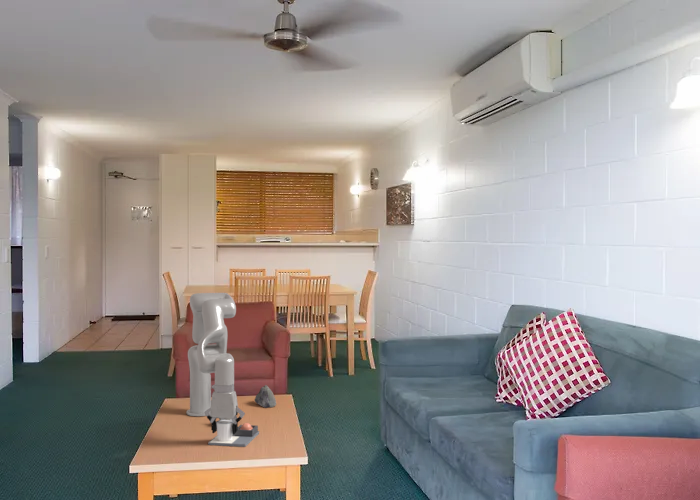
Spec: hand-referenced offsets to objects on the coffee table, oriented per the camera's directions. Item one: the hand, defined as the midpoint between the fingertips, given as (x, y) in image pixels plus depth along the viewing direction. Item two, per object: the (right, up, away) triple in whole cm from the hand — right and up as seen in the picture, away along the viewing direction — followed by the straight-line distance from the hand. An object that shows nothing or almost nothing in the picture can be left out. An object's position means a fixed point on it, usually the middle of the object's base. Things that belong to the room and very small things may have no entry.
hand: (224, 432), depth 256 cm
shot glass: (0, -3, 0) cm, 3 cm away
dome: (+7, -2, +8) cm, 11 cm away
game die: (-4, -4, +24) cm, 25 cm away
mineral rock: (+8, -4, +60) cm, 60 cm away
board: (+3, -4, +4) cm, 6 cm away
